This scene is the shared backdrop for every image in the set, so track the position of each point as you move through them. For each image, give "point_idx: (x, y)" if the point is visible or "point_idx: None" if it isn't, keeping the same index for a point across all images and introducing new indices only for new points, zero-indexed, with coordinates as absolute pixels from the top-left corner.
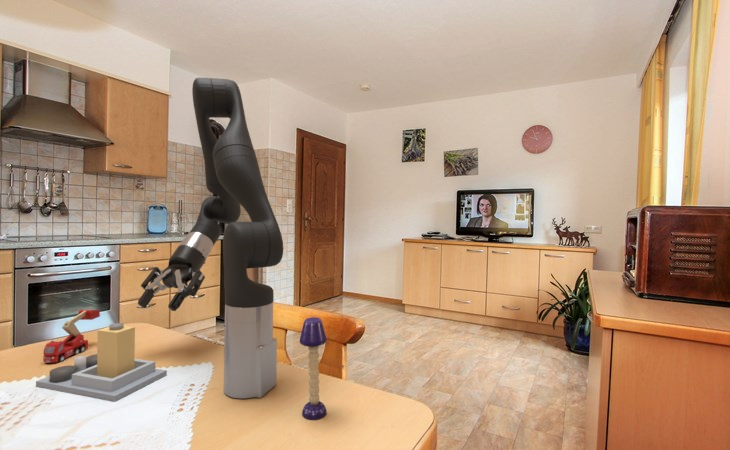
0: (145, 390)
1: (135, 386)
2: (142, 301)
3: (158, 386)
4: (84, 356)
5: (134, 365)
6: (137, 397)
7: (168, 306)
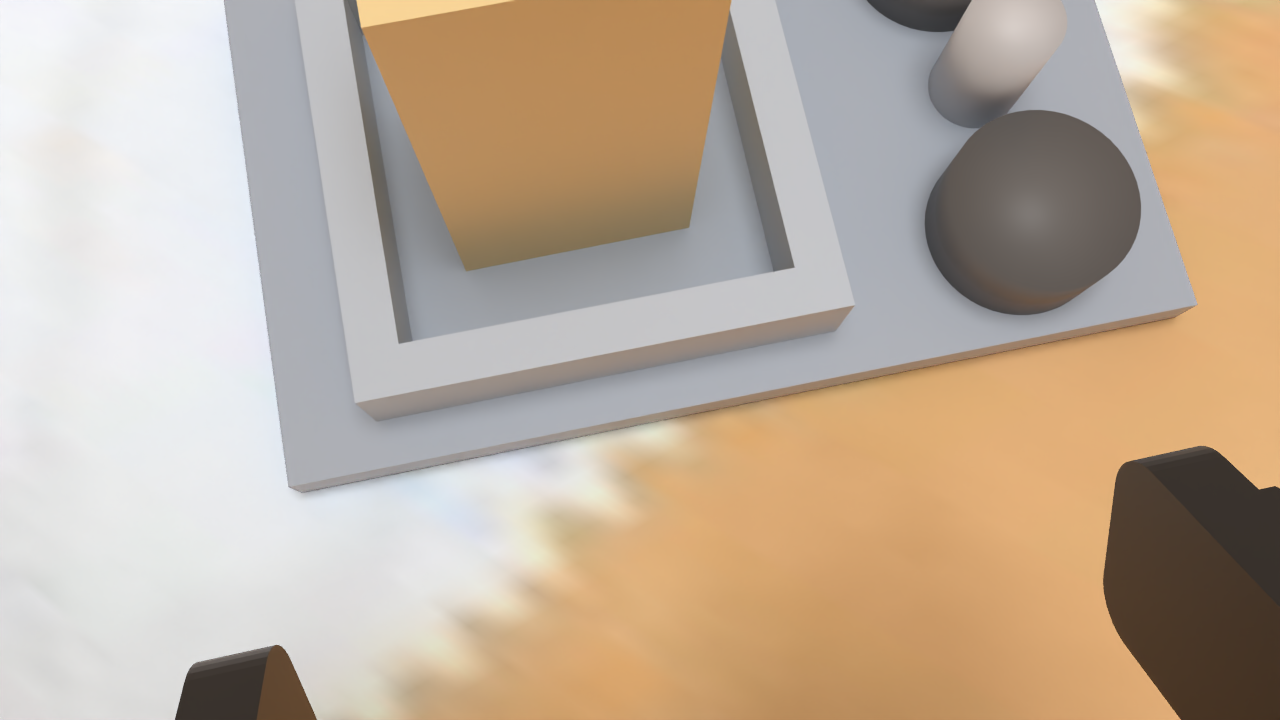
0: (195, 214)
1: (245, 152)
2: (1169, 526)
3: (160, 309)
4: (1010, 48)
5: (454, 240)
6: (143, 117)
7: (270, 646)
